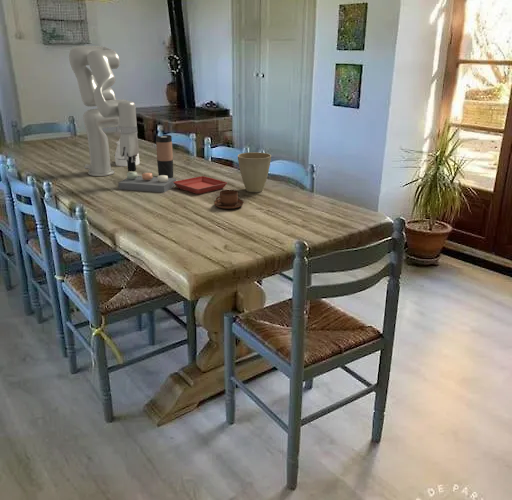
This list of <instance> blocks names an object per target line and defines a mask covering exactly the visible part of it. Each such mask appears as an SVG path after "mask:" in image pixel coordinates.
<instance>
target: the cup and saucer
mask: <svg viewBox="0 0 512 500" xmlns="http://www.w3.org/2000/svg"><path fill="white" fill-rule="evenodd" d="M213 204H214V206H215V207H216V208H217V207H218V208H220V209H225V210H233V209H238V208H240V207H243V205H244V200H242V199H239V191H237V190H234V189H223V190H222V189H221V190H220V191H219V195H218V196H217V197H216V198H215V200H214V201H213Z"/></svg>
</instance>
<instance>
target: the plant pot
mask: <svg viewBox="0 0 512 500" xmlns="http://www.w3.org/2000/svg"><path fill="white" fill-rule="evenodd" d="M237 161H238V167H239V172H240V175H241V176H240V177H241V179H242V182H243V185H244V188H245V190H246V192H248V193H260V192H263V190H264V188H265V185H266V182H267V179H268V176H269V172H270V166H271V161H272V154H270V153H268V152H257V151H256V152H254V151H253V152H252V151H251V152H242V153H239V154H237Z"/></svg>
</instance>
